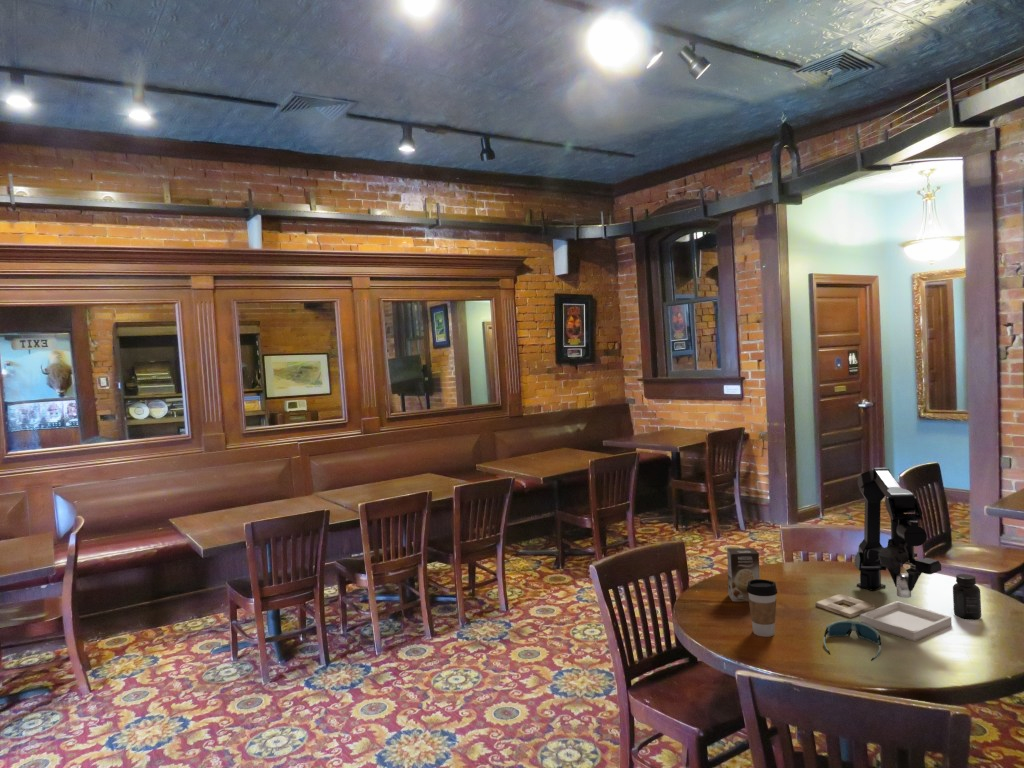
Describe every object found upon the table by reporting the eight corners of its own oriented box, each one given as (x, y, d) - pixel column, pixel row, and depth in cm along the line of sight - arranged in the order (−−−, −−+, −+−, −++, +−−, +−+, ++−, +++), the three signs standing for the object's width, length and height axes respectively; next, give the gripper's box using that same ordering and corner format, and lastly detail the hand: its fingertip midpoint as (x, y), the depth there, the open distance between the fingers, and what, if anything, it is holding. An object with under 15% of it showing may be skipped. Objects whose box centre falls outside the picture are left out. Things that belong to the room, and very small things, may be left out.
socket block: (840, 597, 222) (840, 593, 222) (875, 608, 212) (874, 604, 211) (815, 606, 216) (815, 602, 216) (850, 617, 206) (850, 614, 206)
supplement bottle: (983, 615, 202) (982, 575, 202) (979, 622, 197) (977, 581, 197) (956, 610, 207) (954, 571, 206) (951, 617, 202) (950, 577, 201)
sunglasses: (882, 640, 191) (881, 623, 190) (880, 670, 178) (879, 652, 177) (827, 632, 198) (826, 616, 197) (821, 660, 185) (820, 643, 184)
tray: (897, 608, 210) (897, 600, 210) (951, 625, 196) (951, 617, 196) (860, 623, 202) (860, 614, 202) (914, 641, 188) (913, 632, 188)
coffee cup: (764, 641, 194) (762, 589, 193) (742, 631, 201) (740, 581, 201) (785, 633, 198) (783, 583, 197) (762, 624, 205) (760, 575, 204)
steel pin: (901, 592, 201) (901, 572, 201) (913, 595, 198) (913, 575, 198) (894, 595, 199) (893, 575, 199) (906, 598, 196) (905, 578, 196)
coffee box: (732, 602, 224) (730, 553, 223) (728, 595, 230) (725, 548, 229) (761, 601, 223) (759, 553, 222) (756, 594, 229) (754, 547, 228)
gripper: (855, 534, 202) (856, 586, 203) (918, 548, 186) (919, 605, 187) (878, 527, 207) (880, 577, 208) (941, 541, 191) (943, 595, 192)
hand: (904, 588), depth 199 cm, fingers closed on steel pin, 4 cm apart
